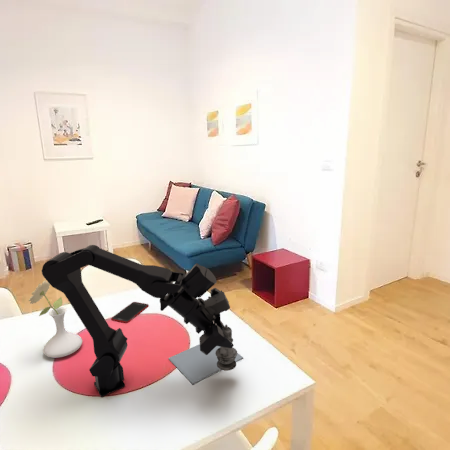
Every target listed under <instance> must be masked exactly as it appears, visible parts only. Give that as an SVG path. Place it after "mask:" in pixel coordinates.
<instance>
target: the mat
mask: <svg viewBox="0 0 450 450" xmlns="http://www.w3.org/2000/svg"><path fill="white" fill-rule="evenodd" d="M218 348H220V346H216V347H215V348H214V349H213V350H212V351H211V352H210V353H209V354H208V355H205V354H204V353H203V352H201V351H200V343H199V344H197V345H195V346H192V347H190V348H188V349H185V350H183V351H181V352H179V353H177V354H175V355H172V356H170V357H168V358H167V359H168V360H169V361H170V362H171V364H173V366H174V367H177V368H176V369H177V370H178V371H179V372H180V373H181V374H182V375H183V376H184V377H185V378H186V379H187V380H188V381H189V383H190V384H192V385H195V384H197V383H199V382H201V381H203V380H205V379H207V378H209V377H211V376H213V375H214V374H216V373H218V372H220V371H222V370H221V369H219V368H218V367H217V362H218V359H217V356H216V354H215V353H216V350H217V349H218ZM243 359H244V356H242V355H241V354H239V352H237V356H236V358H235V362H236V363H238V362H239V361H242V360H243Z"/></svg>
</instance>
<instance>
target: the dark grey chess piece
mask: <svg viewBox="0 0 450 450" xmlns="http://www.w3.org/2000/svg"><path fill="white" fill-rule="evenodd" d="M224 326H225V327H223V333H224V334H225V335H226V336H227V337H228V339H229V340H230V341H231V342H232V343H233V342H234V339H233V333H232V332H233V329H232V328H231V327H230V326H228V324H224ZM237 353H238V351H237V349H236V348H235V347H234V346H233V347H232V348H227V347H220V348H218V349H217V350H216V353H215V354H216V356H217V359H218V362H217V367H218V368H219V369H221V370H220V371H225V372H227V371H232V370H234V369H235V368H236V366H237V362H235V358H236V356H237Z"/></svg>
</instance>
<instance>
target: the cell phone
mask: <svg viewBox="0 0 450 450" xmlns="http://www.w3.org/2000/svg"><path fill="white" fill-rule="evenodd" d="M148 307H150V305H149V304H148V303H144V302H138V301H133V302H131V303H130V304H128V305H127V306H126V307H124V308H123V309H121V310H120V311H119V312H117V313H116V314H115V315H113V316H112V317H111V318H110V320H111V321H113V322H117V323H122V324H129V323H130V322H131V321H133V320H134V319H135V318H136V317H137V316H139V315H140V314H141V313H143V312H144V311H145V310H146V309H147V308H148Z"/></svg>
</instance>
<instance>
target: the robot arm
mask: <svg viewBox="0 0 450 450" xmlns="http://www.w3.org/2000/svg"><path fill="white" fill-rule="evenodd" d="M87 266H90V267H93V268H96V269H98V270H101V271H103V272H106V273H109V274H110V275H114V276H117V277H118V278H121V279H124V280H127V281H129V282H130V283H131V282H132V283H133V284H135V285H137V287H138V288H139V289H140V290H141V291H142V292H144V293H146V294H147V295H149V296H150V297H153V298H156V299H159V303H160V311H161V312H162V311H164V310H165V309H167V307H170V308H171V310H173V311H174V312H176V313H177V314H178V315H180V317H182V318H183V323H185V324H186V325H188V324H190V325H192V326H193V327H194V328H195V333H196V334H198V335H199V334H201V332H203V333H202V335H200V336H199V344H200V351H201V352H203V353H204V354H205V355H208V354H209V353H210V352H211V351H212V350H213V349H214V348H215V347H216V346H220V347H227V348H232V347H233V348H234V345H235V344H233V342H231V341H230V340H229V339H228V337H227V336H226V335H225V334H224V333H223V327H225V324H224V323H223V322H222V321H221V313H224V312H227V311H229V310H230V309H231V305H230V303H229V302H230V301H229V300H228V298H227V296H226V294H225V292H224V291H223V290H219V289H218V288H216V287H214V286H215V285H216V284H217V278H216V276H215V274H214V273H213V272H212V271H211V270H210V269H209V268H206V267H205V266H203V265H201V264H199V263H195V264H194V265H193V266H192V267H191V269H190V270H189V271H187V273H185V272H177V271H174V270H173V271H172V270H171V269H169V268H167V267H164V266H158V265H150V264H149V265H147V264H146V265H145V264H141V263H139V262H135V261H133V260H131V259H128V258H126V257H123V256H120V255H119V254H115V253H113V252H110V251H108V250H105V249H103V248H100V247H99V246H98V245H95V244H90V245H88V246H86V247H83V248H81V249H80V248H79V249H76V250H74V251H71V252H67V251H63V252H60V253H58V254H57V255H55V256H54V257H51V258H50V259H49V260H47V261H46V262H44V263H43V265H42V267H41V268H42V269H41V274H42V277H43V278H44V279H45V280H46V282H49V284H50V287H52V288H54V289H55V290H58V291H59V292H61V293H63V294H64V296H65V298H66V299H67V301H68V303H70V306H71V307H72V308H73V310H74V311H75V313H76V315H77V316H78V318H79V320H80V321H81V323H82V324H83V326H84V328H85V329H86V331H87V332H88V334H89V335H90V337H91V339H92V343H93V352H94V356H95V357H96V358H95V360H94V362H93V364H92V365H91V366H90V368H89V373H90V375H91V377H94V379H95V381H94V382H93V384H94V387H95V389H96V390H97V392H98V394H99V396H100V397H101V398H103V397H105V396H107V395H110V394H112V393H114V392H116V391H118V390H120V389H123V388H124V387H126V384H125V383H124V380H125V375H124V373H125V372H124V368H123V365H122V364H121V361H122V358H123V357H124V355H125V353H126V351H127V349H128V342H127V341H128V338H127V337H126V335H124V332H123V330H122V329H121V328H120V327H119V328H117V329H114V328H112V327H111V326H110V325H109V323H108V322H107V319H105V317H104V316H103V314H102V312H101V311H100V309H99V308H98V305H97V304H96V303H95V300H94V299H93V298H92V295H91V294H90V292H89V290H88V289H87V288H86V285H84V283H83V277H82V268H84V267H87ZM212 287H214V288H212ZM209 290H210V295H209V296H208V297H207V298H206V299H205V300H204V299H203V298H202V297H203V296H204V295H205V294H206V293H207V292H208V291H209Z"/></svg>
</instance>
